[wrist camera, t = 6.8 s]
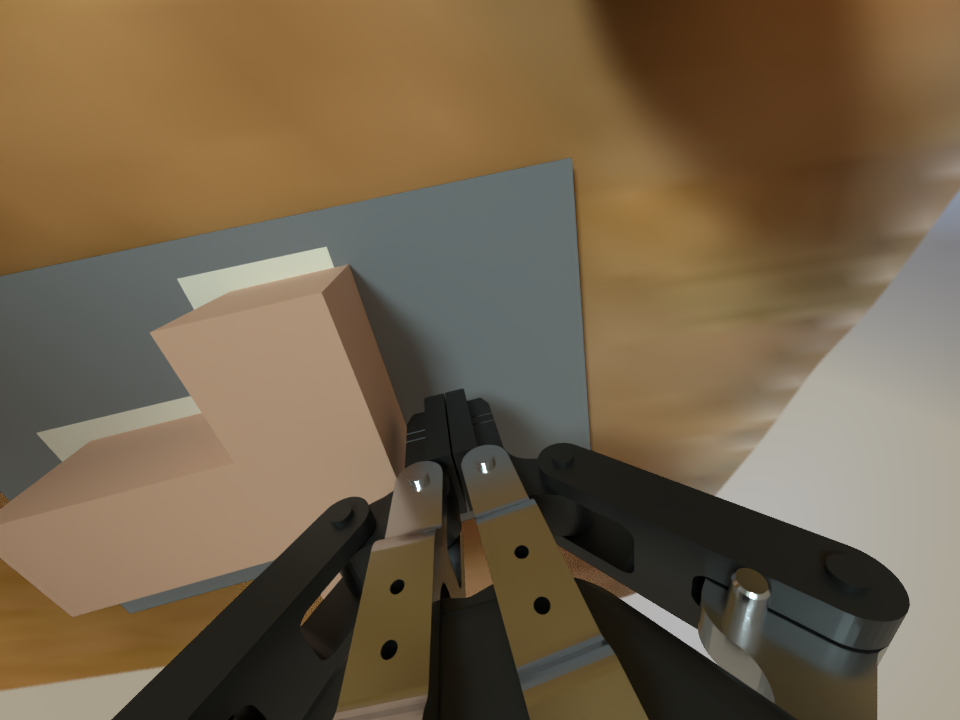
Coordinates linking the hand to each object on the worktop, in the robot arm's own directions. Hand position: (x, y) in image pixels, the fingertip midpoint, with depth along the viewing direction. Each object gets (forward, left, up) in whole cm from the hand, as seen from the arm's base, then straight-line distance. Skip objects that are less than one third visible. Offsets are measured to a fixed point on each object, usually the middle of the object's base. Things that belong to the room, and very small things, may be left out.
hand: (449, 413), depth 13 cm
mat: (0, -5, -2) cm, 6 cm away
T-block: (0, -8, -2) cm, 8 cm away
